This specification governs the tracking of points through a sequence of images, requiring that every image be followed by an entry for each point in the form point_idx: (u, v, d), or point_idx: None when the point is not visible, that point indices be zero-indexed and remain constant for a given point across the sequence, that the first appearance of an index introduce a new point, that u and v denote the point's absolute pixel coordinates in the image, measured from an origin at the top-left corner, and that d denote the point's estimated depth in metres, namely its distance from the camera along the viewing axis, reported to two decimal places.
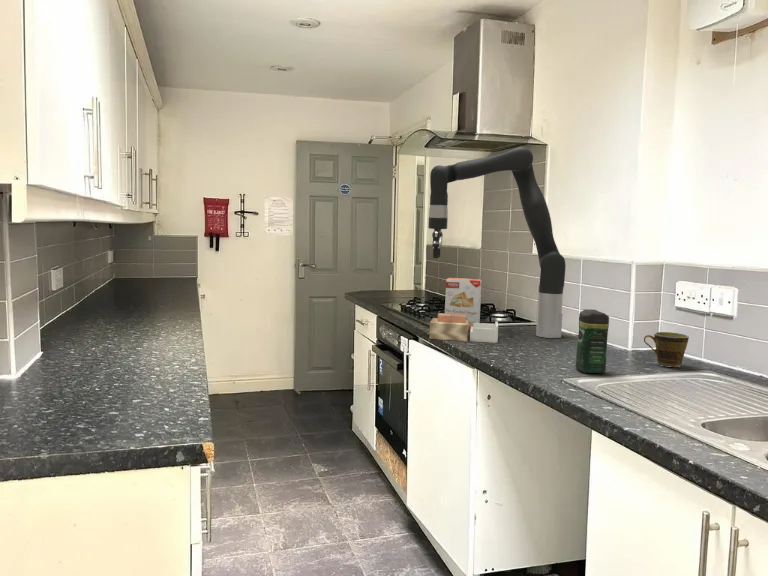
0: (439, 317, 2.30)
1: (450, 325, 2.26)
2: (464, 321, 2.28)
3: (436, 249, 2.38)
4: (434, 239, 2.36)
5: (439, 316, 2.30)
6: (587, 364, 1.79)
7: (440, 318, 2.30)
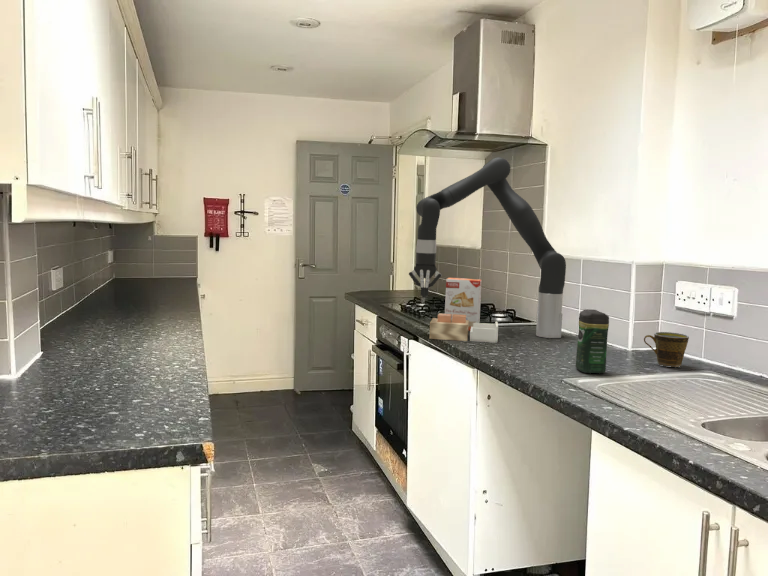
0: (439, 317, 2.30)
1: (450, 325, 2.26)
2: (464, 321, 2.28)
3: (428, 288, 2.32)
4: None
5: (439, 316, 2.30)
6: (587, 364, 1.79)
7: (440, 318, 2.30)
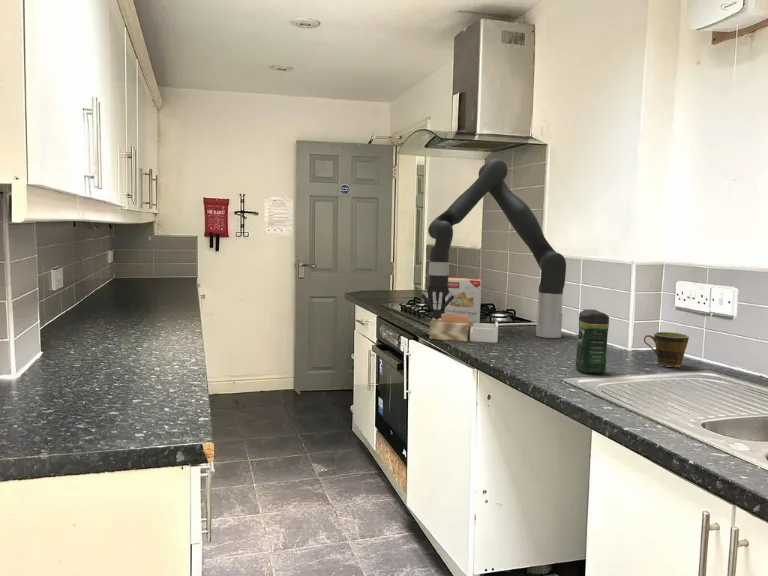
0: (443, 317, 2.30)
1: (450, 325, 2.26)
2: (466, 321, 2.28)
3: None
4: None
5: (443, 316, 2.29)
6: (587, 364, 1.79)
7: (444, 318, 2.29)
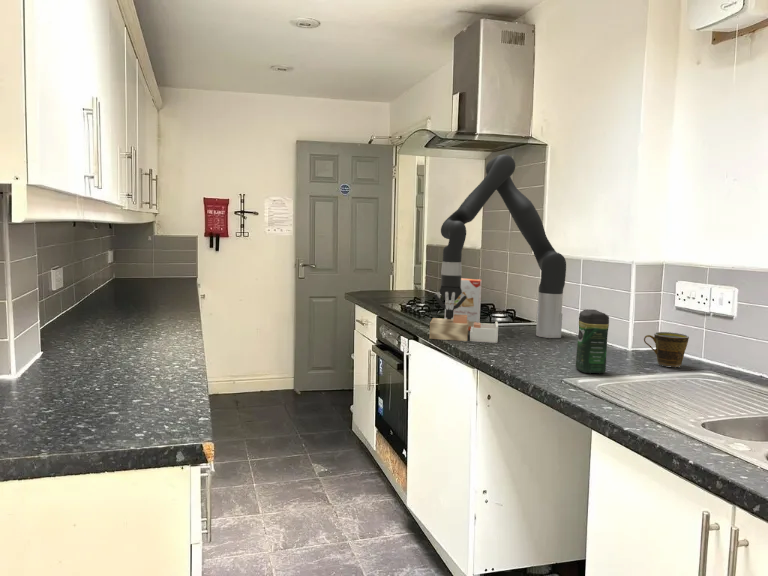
0: (455, 318, 2.29)
1: (450, 325, 2.26)
2: None
3: (453, 310, 2.31)
4: (461, 303, 2.30)
5: (455, 317, 2.29)
6: (587, 364, 1.79)
7: (456, 319, 2.29)
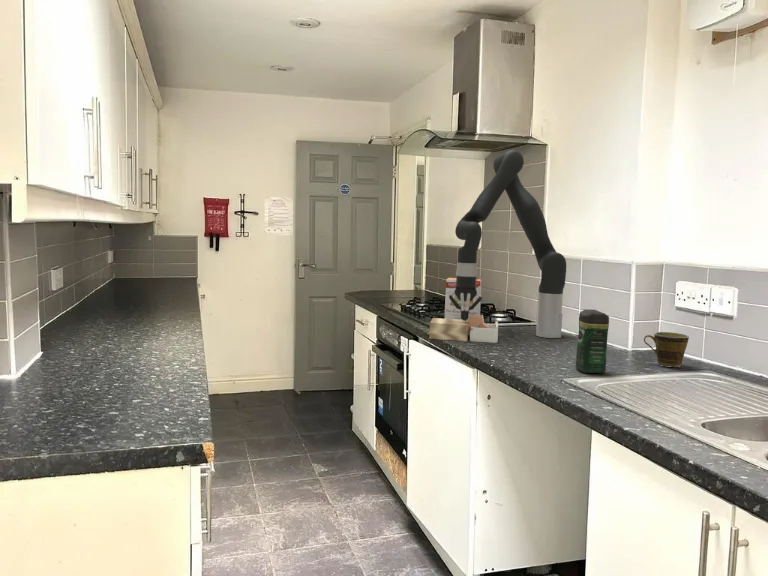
0: (470, 320, 2.28)
1: (450, 325, 2.26)
2: None
3: (468, 311, 2.30)
4: None
5: (470, 319, 2.28)
6: (587, 364, 1.79)
7: (472, 321, 2.28)
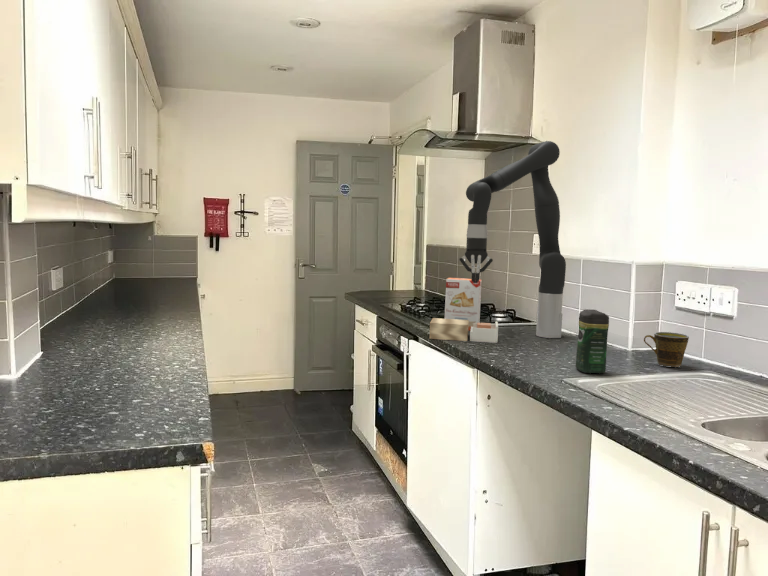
0: (479, 326, 2.27)
1: (450, 325, 2.26)
2: None
3: (479, 273, 2.29)
4: None
5: (479, 325, 2.27)
6: (587, 364, 1.79)
7: None
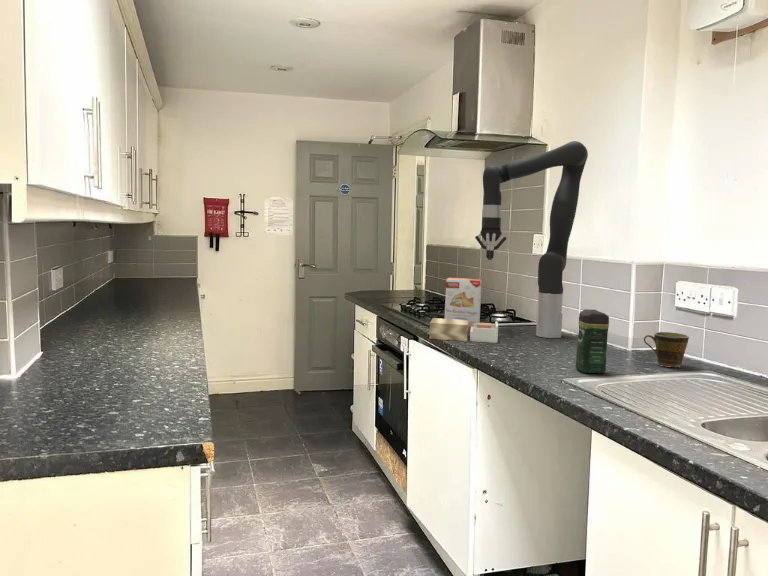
0: (479, 326, 2.27)
1: (450, 325, 2.26)
2: None
3: (493, 251, 2.46)
4: (501, 244, 2.45)
5: (479, 325, 2.27)
6: (587, 364, 1.79)
7: None
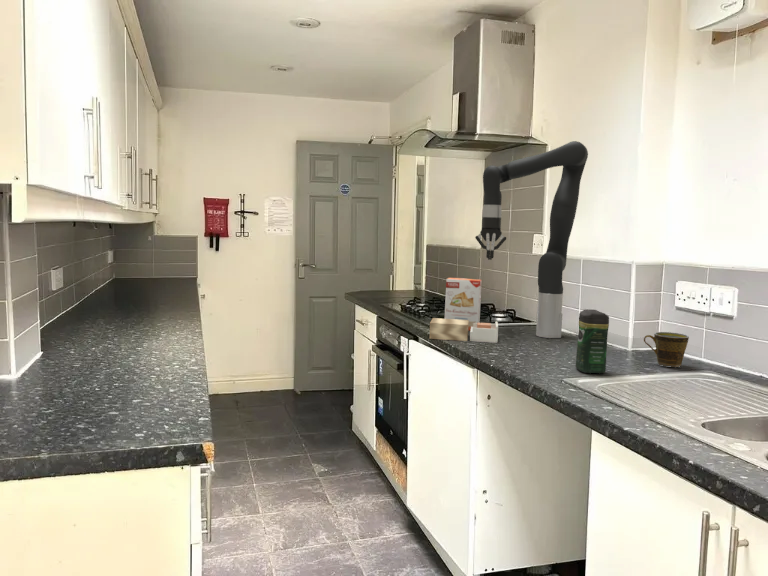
0: (479, 326, 2.27)
1: (450, 325, 2.26)
2: None
3: (493, 251, 2.46)
4: (501, 244, 2.45)
5: (479, 325, 2.27)
6: (587, 364, 1.79)
7: None
